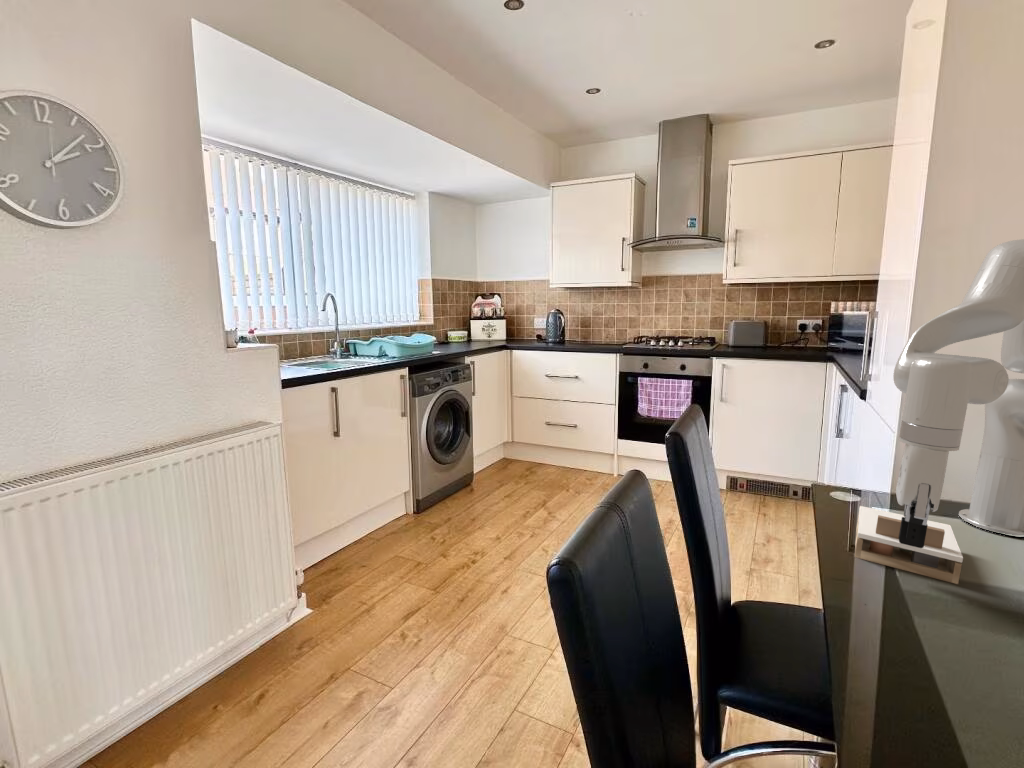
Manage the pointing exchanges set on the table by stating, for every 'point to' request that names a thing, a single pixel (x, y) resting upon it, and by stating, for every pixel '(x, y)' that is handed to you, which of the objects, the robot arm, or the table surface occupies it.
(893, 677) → the table surface
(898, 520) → the sliding lid
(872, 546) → the glossy peach egg
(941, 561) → the oak box
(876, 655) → the table surface
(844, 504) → the table surface
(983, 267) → the robot arm
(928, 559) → the charcoal block
